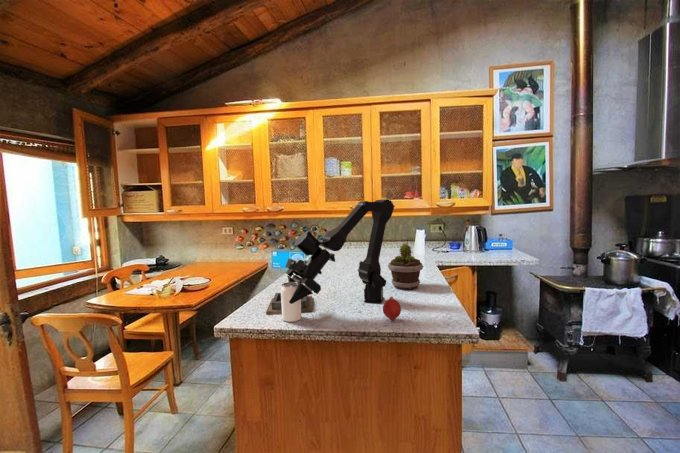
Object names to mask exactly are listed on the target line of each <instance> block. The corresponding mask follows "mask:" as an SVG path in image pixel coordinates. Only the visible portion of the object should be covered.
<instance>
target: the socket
mask: <svg viewBox="0 0 680 453" xmlns="http://www.w3.org/2000/svg"><path fill="white" fill-rule="evenodd" d="M274 294H275V295H274V296H273V297H272V298H271V300H270V301H269V303H268V306H267V309H266V312H265V315H275V314H278V315H279V314H281V315H282V305H281V292H275V293H274ZM312 307H313V296H312V295H308V296H306V297H304V298H302V299H301V313H309V312H310V313H311V312H312Z"/></svg>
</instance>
